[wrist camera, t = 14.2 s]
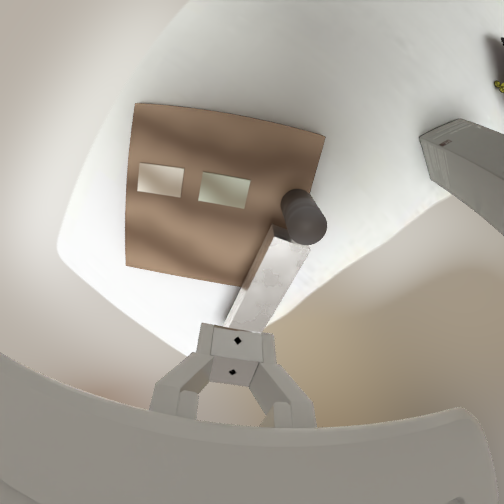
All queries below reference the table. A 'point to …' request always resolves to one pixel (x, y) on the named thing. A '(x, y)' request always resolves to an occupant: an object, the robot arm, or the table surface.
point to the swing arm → (267, 281)
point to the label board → (215, 190)
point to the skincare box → (469, 166)
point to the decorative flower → (502, 87)
